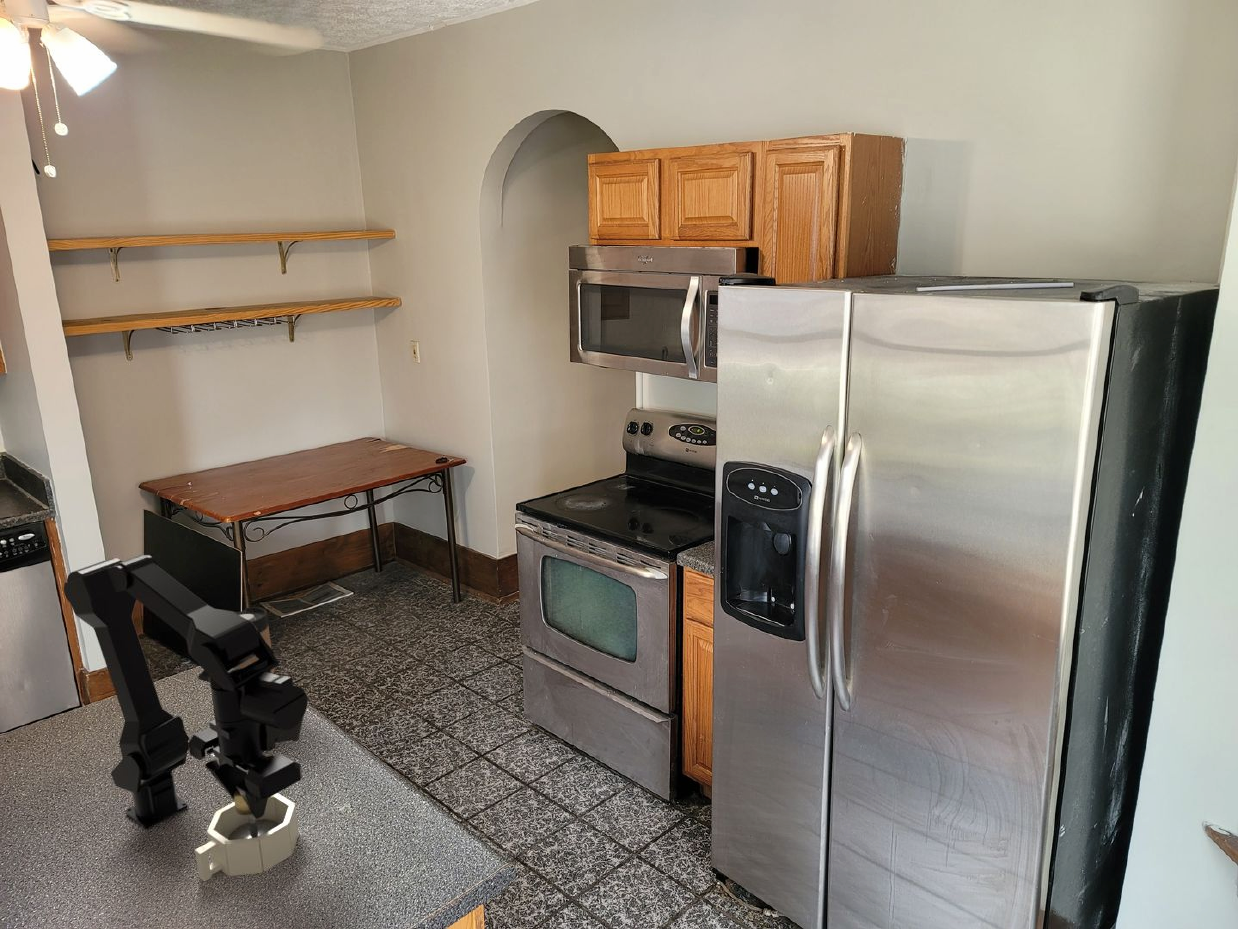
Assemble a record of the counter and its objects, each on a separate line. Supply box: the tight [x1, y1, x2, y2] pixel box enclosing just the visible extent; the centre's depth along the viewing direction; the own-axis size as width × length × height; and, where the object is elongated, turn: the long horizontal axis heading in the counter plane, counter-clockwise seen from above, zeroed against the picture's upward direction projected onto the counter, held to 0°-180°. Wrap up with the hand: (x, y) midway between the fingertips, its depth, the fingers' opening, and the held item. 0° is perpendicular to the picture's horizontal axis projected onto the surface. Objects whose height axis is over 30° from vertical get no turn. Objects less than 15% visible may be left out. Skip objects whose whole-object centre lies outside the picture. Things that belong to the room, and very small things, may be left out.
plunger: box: [228, 789, 279, 840], centre depth 125 cm, size 7×7×8 cm
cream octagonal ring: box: [194, 792, 300, 882], centre depth 124 cm, size 11×13×5 cm
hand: (251, 811), depth 125 cm, fingers closed on plunger, 4 cm apart
